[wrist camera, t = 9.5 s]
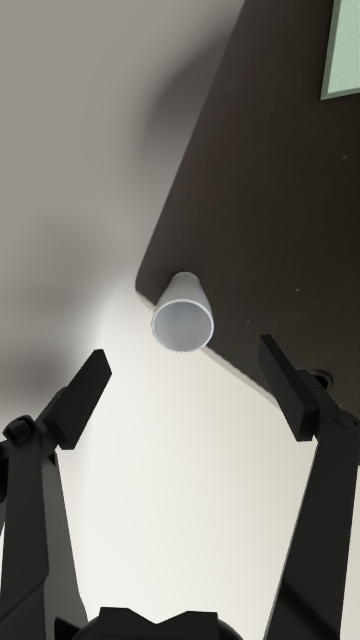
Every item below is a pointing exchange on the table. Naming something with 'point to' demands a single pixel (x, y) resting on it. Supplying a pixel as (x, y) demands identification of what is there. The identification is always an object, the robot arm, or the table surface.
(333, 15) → the scale
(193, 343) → the drinking glass
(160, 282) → the table surface
